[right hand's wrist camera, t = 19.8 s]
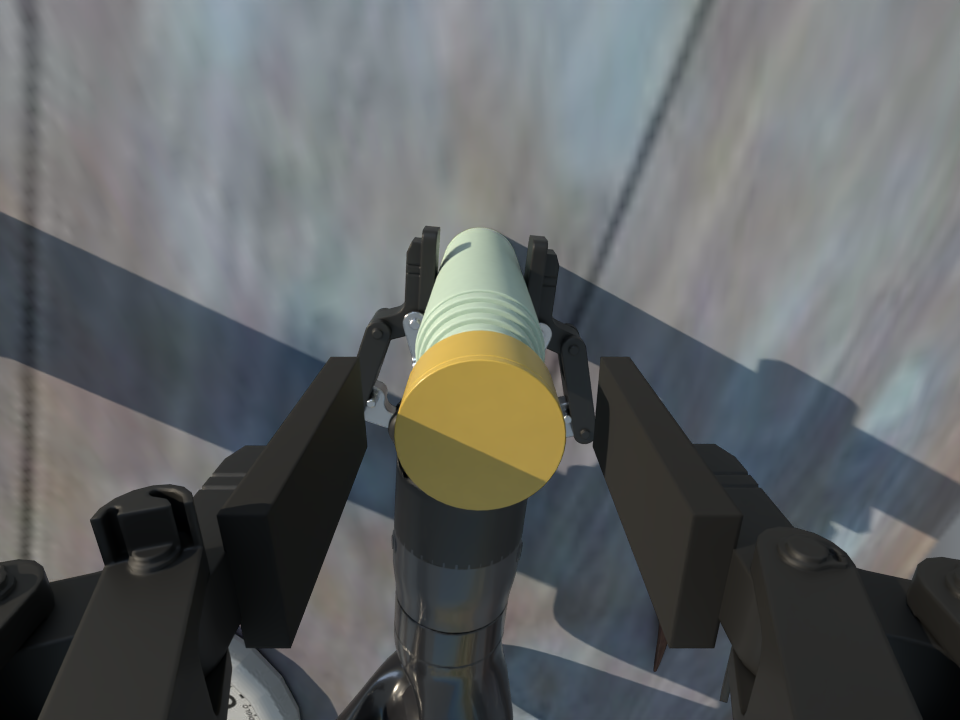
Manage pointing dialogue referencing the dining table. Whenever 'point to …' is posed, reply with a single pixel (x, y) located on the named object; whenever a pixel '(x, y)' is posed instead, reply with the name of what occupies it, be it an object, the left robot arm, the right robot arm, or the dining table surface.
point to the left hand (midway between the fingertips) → (485, 235)
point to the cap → (480, 422)
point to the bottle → (480, 293)
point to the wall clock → (257, 687)
